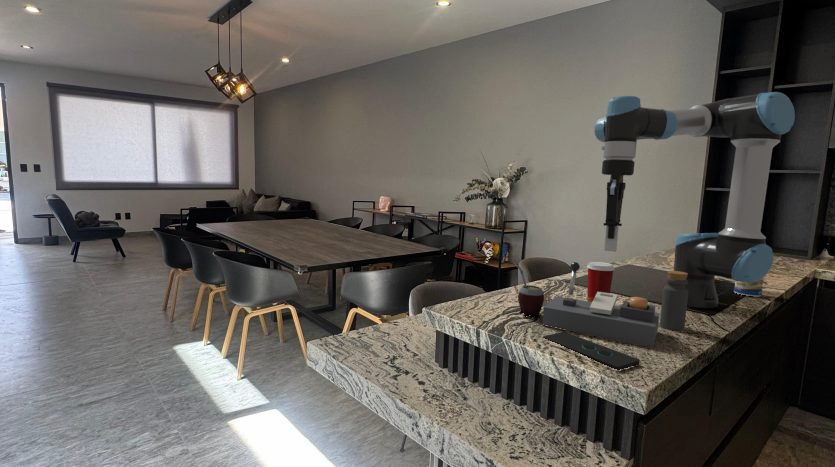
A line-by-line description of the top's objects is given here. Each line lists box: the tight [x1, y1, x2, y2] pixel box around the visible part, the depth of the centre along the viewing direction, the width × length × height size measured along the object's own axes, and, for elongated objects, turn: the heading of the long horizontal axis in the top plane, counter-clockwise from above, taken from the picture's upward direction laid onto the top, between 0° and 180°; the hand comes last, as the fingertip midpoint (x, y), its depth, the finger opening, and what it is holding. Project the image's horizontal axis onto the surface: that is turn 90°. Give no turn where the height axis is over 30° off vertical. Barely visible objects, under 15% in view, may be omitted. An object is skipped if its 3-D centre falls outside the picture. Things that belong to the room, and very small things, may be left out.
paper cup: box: [586, 261, 615, 302], centre depth 137 cm, size 8×8×14 cm
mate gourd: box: [512, 262, 545, 318], centre depth 129 cm, size 8×8×15 cm
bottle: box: [659, 270, 688, 331], centre depth 123 cm, size 6×6×15 cm
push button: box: [629, 296, 649, 310], centre depth 114 cm, size 4×4×2 cm
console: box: [542, 296, 660, 349], centre depth 119 cm, size 14×26×8 cm, turn 59°
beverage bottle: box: [733, 241, 767, 298], centre depth 165 cm, size 8×8×20 cm
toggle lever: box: [568, 261, 581, 296], centre depth 124 cm, size 2×2×9 cm
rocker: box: [590, 292, 618, 315], centre depth 119 cm, size 10×5×1 cm, turn 149°
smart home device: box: [542, 331, 641, 370], centre depth 103 cm, size 8×2×20 cm
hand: (610, 250), depth 120 cm, fingers closed
